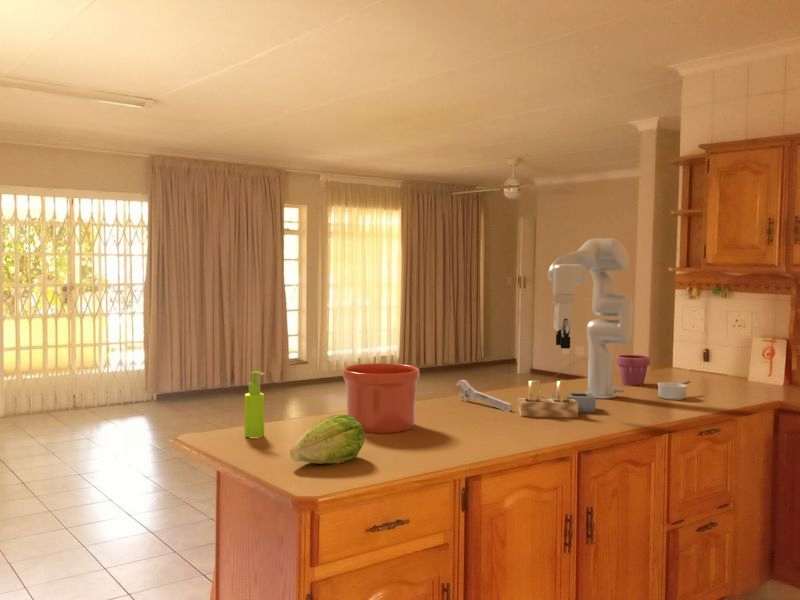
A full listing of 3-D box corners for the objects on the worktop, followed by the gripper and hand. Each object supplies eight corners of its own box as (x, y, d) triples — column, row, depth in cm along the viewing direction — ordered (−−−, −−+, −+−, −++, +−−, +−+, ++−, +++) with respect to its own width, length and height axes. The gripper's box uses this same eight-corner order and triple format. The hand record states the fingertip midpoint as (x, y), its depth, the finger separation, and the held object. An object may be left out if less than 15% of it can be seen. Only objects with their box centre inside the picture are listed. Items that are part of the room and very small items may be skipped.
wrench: (508, 419, 259) (454, 397, 282) (511, 419, 260) (458, 397, 283) (510, 398, 258) (456, 378, 281) (514, 398, 259) (459, 378, 282)
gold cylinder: (566, 413, 256) (567, 380, 256) (568, 416, 252) (569, 382, 252) (555, 413, 257) (555, 380, 256) (556, 415, 253) (557, 382, 252)
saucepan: (702, 396, 295) (702, 382, 294) (678, 402, 281) (678, 388, 281) (675, 392, 303) (676, 379, 303) (651, 397, 290) (651, 384, 290)
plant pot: (611, 381, 329) (612, 354, 328) (640, 381, 331) (641, 354, 330) (624, 387, 315) (625, 358, 314) (654, 386, 316) (655, 358, 316)
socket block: (589, 407, 269) (589, 392, 268) (595, 412, 259) (595, 397, 258) (552, 406, 269) (552, 392, 269) (556, 411, 259) (556, 396, 259)
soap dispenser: (257, 440, 214) (257, 374, 213) (240, 437, 217) (240, 372, 216) (270, 436, 219) (270, 371, 218) (254, 433, 222) (254, 369, 221)
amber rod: (538, 413, 257) (538, 380, 256) (539, 415, 253) (540, 382, 252) (527, 412, 257) (527, 380, 256) (528, 415, 253) (529, 381, 252)
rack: (573, 412, 258) (573, 399, 258) (577, 417, 250) (578, 403, 250) (518, 411, 259) (518, 398, 259) (520, 416, 251) (520, 402, 251)
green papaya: (272, 441, 190) (293, 421, 180) (337, 420, 204) (360, 401, 195) (290, 486, 186) (313, 469, 176) (356, 461, 200) (380, 444, 191)
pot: (332, 421, 240) (333, 365, 239) (400, 415, 250) (401, 361, 249) (358, 438, 217) (358, 376, 217) (431, 431, 227) (432, 371, 226)
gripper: (549, 297, 263) (548, 343, 264) (557, 300, 246) (556, 349, 247) (569, 297, 263) (568, 343, 264) (579, 300, 245) (578, 349, 246)
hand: (562, 346), depth 255 cm, fingers open, 9 cm apart
